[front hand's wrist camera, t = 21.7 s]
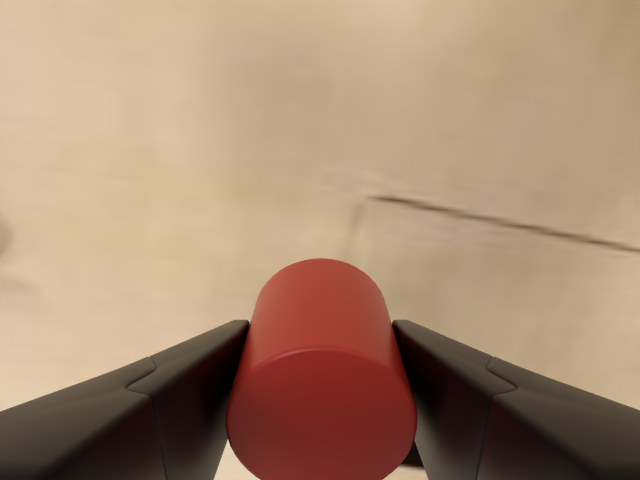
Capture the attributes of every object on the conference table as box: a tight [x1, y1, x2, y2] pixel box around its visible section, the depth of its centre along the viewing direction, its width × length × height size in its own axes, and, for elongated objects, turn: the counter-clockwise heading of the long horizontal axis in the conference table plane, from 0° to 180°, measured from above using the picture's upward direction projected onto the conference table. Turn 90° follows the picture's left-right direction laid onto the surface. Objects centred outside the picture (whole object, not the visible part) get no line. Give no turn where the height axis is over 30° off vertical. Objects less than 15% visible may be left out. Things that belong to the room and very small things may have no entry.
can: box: [225, 259, 418, 480], centre depth 10 cm, size 4×4×4 cm
